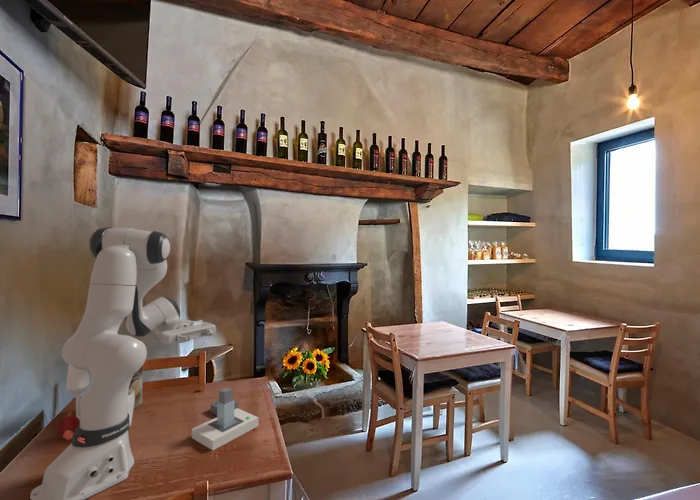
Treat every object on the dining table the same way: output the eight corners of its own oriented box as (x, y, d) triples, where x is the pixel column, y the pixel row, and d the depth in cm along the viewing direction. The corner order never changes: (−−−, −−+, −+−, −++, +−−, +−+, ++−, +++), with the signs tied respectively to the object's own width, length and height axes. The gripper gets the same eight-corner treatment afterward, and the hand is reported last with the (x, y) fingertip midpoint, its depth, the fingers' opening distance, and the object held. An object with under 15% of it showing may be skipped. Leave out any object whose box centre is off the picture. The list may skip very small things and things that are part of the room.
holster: (221, 417, 126) (221, 409, 126) (209, 411, 131) (209, 403, 131) (238, 409, 132) (238, 402, 132) (226, 404, 137) (226, 397, 136)
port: (212, 450, 106) (212, 439, 106) (191, 437, 113) (191, 427, 112) (258, 425, 120) (258, 416, 120) (237, 416, 127) (237, 407, 127)
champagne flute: (84, 424, 121) (84, 357, 121) (61, 426, 119) (61, 359, 119) (93, 415, 127) (93, 351, 127) (72, 417, 125) (72, 353, 125)
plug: (224, 434, 114) (224, 393, 113) (217, 431, 116) (217, 390, 116) (234, 429, 117) (234, 389, 117) (227, 426, 119) (227, 386, 119)
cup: (119, 435, 114) (119, 400, 114) (97, 432, 116) (97, 397, 115) (141, 422, 123) (141, 389, 122) (120, 419, 124) (120, 386, 124)
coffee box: (127, 413, 128) (127, 371, 128) (110, 413, 129) (110, 371, 129) (143, 402, 138) (143, 363, 138) (127, 402, 138) (127, 363, 138)
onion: (56, 443, 109) (56, 419, 109) (58, 435, 114) (58, 411, 113) (79, 437, 112) (79, 413, 112) (80, 430, 117) (80, 407, 117)
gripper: (153, 328, 126) (172, 333, 118) (204, 318, 143) (223, 323, 135) (153, 345, 126) (172, 351, 119) (204, 333, 143) (223, 339, 135)
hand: (200, 336), depth 127 cm, fingers open, 8 cm apart
